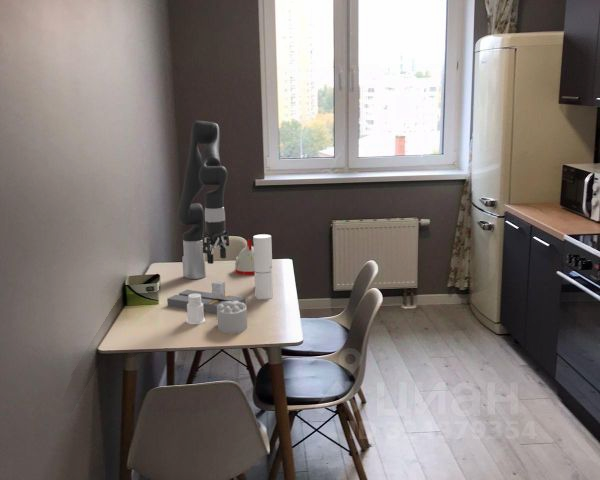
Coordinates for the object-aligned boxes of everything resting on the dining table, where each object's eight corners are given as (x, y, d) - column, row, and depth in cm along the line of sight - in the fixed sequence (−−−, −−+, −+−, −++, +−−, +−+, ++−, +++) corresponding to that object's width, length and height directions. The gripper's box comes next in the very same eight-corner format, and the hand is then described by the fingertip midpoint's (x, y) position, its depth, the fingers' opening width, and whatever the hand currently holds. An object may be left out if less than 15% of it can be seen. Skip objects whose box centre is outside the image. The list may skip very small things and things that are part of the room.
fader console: (167, 305, 268) (167, 297, 267) (187, 296, 279) (187, 288, 278) (227, 315, 255) (227, 306, 255) (246, 305, 267) (245, 296, 266)
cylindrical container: (276, 295, 279) (274, 235, 273) (268, 300, 272) (266, 238, 267) (260, 293, 282) (258, 233, 276) (252, 298, 275) (250, 237, 270)
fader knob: (212, 305, 264) (211, 282, 262) (217, 303, 266) (216, 280, 265) (221, 306, 262) (220, 284, 260) (225, 304, 265) (224, 282, 263)
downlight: (183, 319, 252) (182, 293, 249) (202, 316, 254) (201, 290, 252) (189, 326, 245) (187, 300, 242) (208, 323, 247) (207, 297, 245)
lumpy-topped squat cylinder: (246, 320, 249) (245, 297, 247) (248, 332, 237) (247, 308, 235) (217, 322, 248) (216, 299, 246) (218, 334, 235) (217, 310, 233)
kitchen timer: (237, 276, 308) (236, 243, 305) (233, 268, 321) (231, 237, 318) (267, 273, 311) (266, 241, 308) (262, 266, 324) (261, 235, 321)
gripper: (217, 215, 265) (219, 255, 268) (195, 221, 252) (197, 264, 256) (233, 216, 261) (235, 257, 265) (212, 223, 249) (214, 266, 253)
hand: (216, 260), depth 260 cm, fingers open, 8 cm apart
